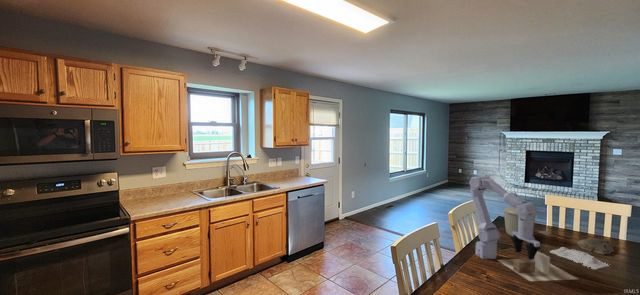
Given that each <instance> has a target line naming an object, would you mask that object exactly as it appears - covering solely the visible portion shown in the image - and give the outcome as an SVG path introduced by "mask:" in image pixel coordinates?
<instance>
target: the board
mask: <svg viewBox="0 0 640 295" xmlns="http://www.w3.org/2000/svg"><path fill="white" fill-rule="evenodd" d="M514 259H515V258H514ZM514 259H512V258H510V259H509V258H508V259H497V262H499V263H500V264H502V265H503V266H505V267H507V268H509V270H511V271H513V272H514V273H516V274H517V275H519V276H520V277H522V278H524V279H525V280H527V281H528V282H546V281H567V280H568V281H570V280H579V278H578V277H577V276H575V275H573V274H570V273H569V272H567V271H565V270H564V269H561V268H559V267H557V266H556V265H553V264H552V263H550V274H546V273H544V272H542V271H541V270H539V269H537V268H535V272H532V273H518V272H517V271H515V270H513V265H514ZM531 260H532V261H534V259H531Z"/></svg>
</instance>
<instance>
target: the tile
mask: <svg viewBox="0 0 640 295" xmlns="http://www.w3.org/2000/svg"><path fill="white" fill-rule="evenodd" d="M534 262H535V268H537V269H539V270H541V271H542V272H544V273H546V274H550V264H551V257H550V256H548V255H546V254H545V253H543V252H540V251H539V250H538V251H537V252H536V254H535V257H534Z"/></svg>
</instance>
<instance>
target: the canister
mask: <svg viewBox="0 0 640 295" xmlns="http://www.w3.org/2000/svg"><path fill="white" fill-rule="evenodd" d="M502 211H503V215H504V216H503V217H504V224H505V232H506V233H507V235H508V236H509V237H513V236H512V232H513V231H516V232H518V219H519V217H518V213H517V211H516V209H515V208H514V207H512V206H507V207H504V208H502ZM531 215H532V214H531ZM537 215H538V213H537V211H536V212H535V213H534V215H533V229H534V228H535V227H534V226H535V222H536V216H537Z"/></svg>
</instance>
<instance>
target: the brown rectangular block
mask: <svg viewBox="0 0 640 295" xmlns="http://www.w3.org/2000/svg"><path fill="white" fill-rule="evenodd" d="M513 270H515V271H517V272H518V273H532V272H535V262H534V261H532V260H530V259H528V258H514V265H513ZM513 270H512V271H513Z"/></svg>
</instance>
